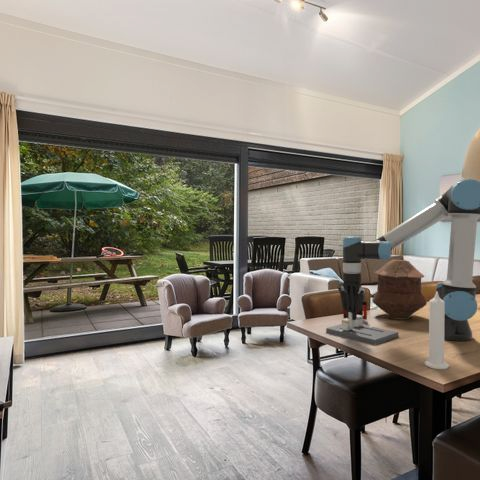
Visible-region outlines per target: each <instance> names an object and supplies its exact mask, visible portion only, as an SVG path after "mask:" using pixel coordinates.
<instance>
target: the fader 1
mask: <svg viewBox="0 0 480 480" xmlns="http://www.w3.org/2000/svg"><path fill="white" fill-rule="evenodd" d="M348 323H349V319H347V318H341V324H342V330H347V331H349V330H352V329H353V327H352V328H350V327H348Z"/></svg>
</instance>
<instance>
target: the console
mask: <svg viewBox="0 0 480 480" xmlns="http://www.w3.org/2000/svg"><path fill="white" fill-rule="evenodd" d="M325 331H326V332H325V333H327V334H331V335H333V336H334V335H335V336H339V337H343V338H346V339H350V340H353V341H357V342H362V343H366V344H370V345H374V346H376V345H378V344H383V343H384V342H388V341H390V340H393V339H396V338H399V331H394V330H390V329H385V328H382V327H375V326H371V325H367V324H363V326H359V327H356V326H355V327H353V329H352V330H349V331H347V330H342V323H341V324H337V325H332V326H329V327H327V328H326V329H325Z"/></svg>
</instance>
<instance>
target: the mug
mask: <svg viewBox="0 0 480 480" xmlns="http://www.w3.org/2000/svg"><path fill="white" fill-rule="evenodd" d="M358 295H359V293H358ZM346 297H347V296H346ZM357 300H358V296H357ZM367 303H368V302H367V301H364V300H363V303H362V308H361V311H358V312H357V315H361V316H363V321H364V320H365V321H366V320H367V317H368V316H367V315H368V314H367V313H368V311H367V309H368V305H367ZM342 309H343V308H342ZM342 312H343V314H342V315H343V317H344V318H343V317H342V318H343V319H345V318H347V311H346V310H344V309H343V311H342Z"/></svg>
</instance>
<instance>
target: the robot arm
mask: <svg viewBox="0 0 480 480" xmlns="http://www.w3.org/2000/svg"><path fill="white" fill-rule="evenodd" d="M445 218H448V219H451V222H450V232H449V233H450V234H449V236H450V237H449V245H448V246H449V247H448V248H449V249H448V259H447V260H448V262H447V274H446V279H445V280H443V281H442V282H441V281H440V282H439V281H438V282H437V283H436V287H435V290H436V291H438V295H439V297H440V299H442V300H443V301H444V302H445V317H444V340H445V341H447V340H448V341H454V342H465V341H471V340H472V339H473V331H472V329H471V326H470V323H469V320H470V319H472V318H473V317H474V316H475V314H476V313H477V311H478V301H477V299H476V294H477V285H475V283H473V275H474V263H475V251H476V239H477V238H476V237H477V228H478V219H479V218H480V181H479V180H477V179H473V178H472V179H471V178H467V179H462V180H459V181H457V182H455V183H454V184H453V185H451V187H449V188H448V189H447V190H446V191H445V192H444V193H443V194H441V195H440V196H438V197H437V198H436V199H434V202H433V203H432V204H431V205H429V206H427V207H425V208H424V209H423V210H421V211H419V212H418V213H416V214H415V215H413V216H411V217H410V218H409V219H407V220H405V221H404V222H402V223H400V224H399V225H397V226H395V227H394V228H393V229H390V230H389V231H387V232H386V233H384V234H383V235H381V236H380V237H378V238H377V239H375V240H373V241H368V240H367V241H365V240H362V237H361V236H344V237H343V241H342V272H343V273H342V285H341V286H339V287H337V289H338V291H339V295H340V300H341V305H342V309H344V310H346V311H347V319H349V323H348V327H350V328H352V327H355V320H356V319H357V312H358V311H361V308H362V303H363V301H364V298H365V295H366V293H367V290H366V289H364V288H362V284H361V282H362V273H361V272H362V260H366V259H367V260H382V261H383V260H390V259H391V258H392V251H393V250H394V249H396V248H397V247H399V246H401V245H402V244H404V243H406V242H408V241H409V240H410V239H412V238H414V237H416V236H417V235H419V234H421V233H422V232H424V231H425V230H427V229H429V228H430V227H433V226H434V225H435V224H437V223H439V222H441V221H442V220H444V219H445ZM436 291H435V292H436ZM358 294H359V295H358ZM346 296H347V297H346ZM357 296H358V300H357Z"/></svg>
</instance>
